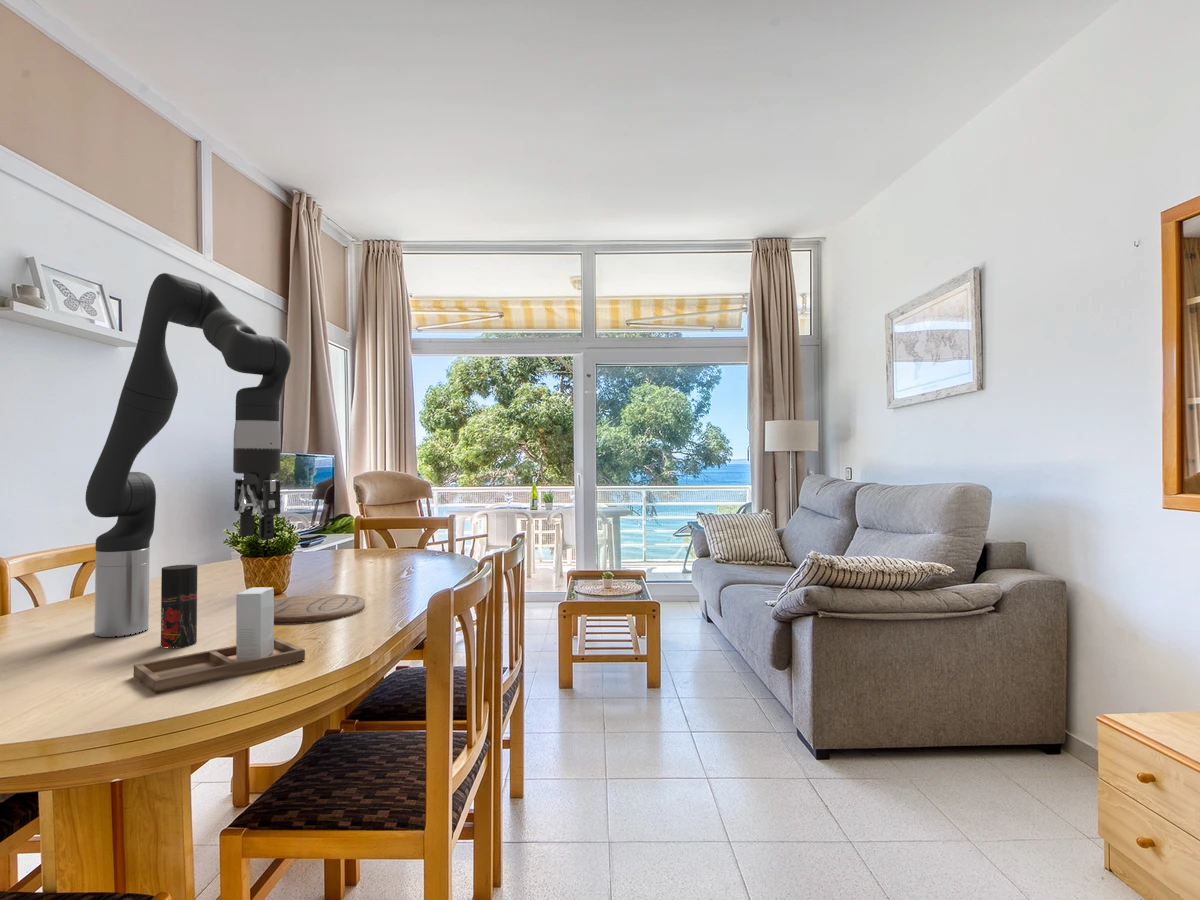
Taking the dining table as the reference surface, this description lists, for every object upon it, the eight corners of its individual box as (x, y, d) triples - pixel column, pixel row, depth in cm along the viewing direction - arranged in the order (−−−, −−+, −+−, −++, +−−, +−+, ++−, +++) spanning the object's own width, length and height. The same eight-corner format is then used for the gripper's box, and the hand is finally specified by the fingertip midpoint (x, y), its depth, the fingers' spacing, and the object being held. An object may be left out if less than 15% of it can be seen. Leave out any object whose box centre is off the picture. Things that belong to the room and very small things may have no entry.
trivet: (234, 627, 146) (234, 619, 146) (267, 603, 170) (267, 595, 170) (356, 622, 150) (356, 614, 150) (371, 599, 175) (371, 592, 175)
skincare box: (250, 653, 123) (250, 587, 123) (274, 652, 123) (274, 586, 123) (234, 663, 117) (235, 593, 117) (260, 662, 117) (261, 593, 117)
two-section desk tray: (133, 677, 111) (133, 664, 111) (276, 648, 128) (276, 637, 128) (155, 694, 103) (155, 680, 103) (304, 660, 120) (304, 649, 120)
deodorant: (203, 642, 133) (204, 565, 133) (173, 649, 127) (174, 570, 128) (184, 638, 135) (184, 563, 135) (153, 646, 130) (154, 568, 130)
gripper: (296, 446, 119) (295, 539, 118) (262, 447, 128) (261, 533, 128) (251, 446, 113) (249, 543, 113) (219, 446, 123) (218, 536, 122)
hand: (256, 537), depth 120 cm, fingers open, 8 cm apart
